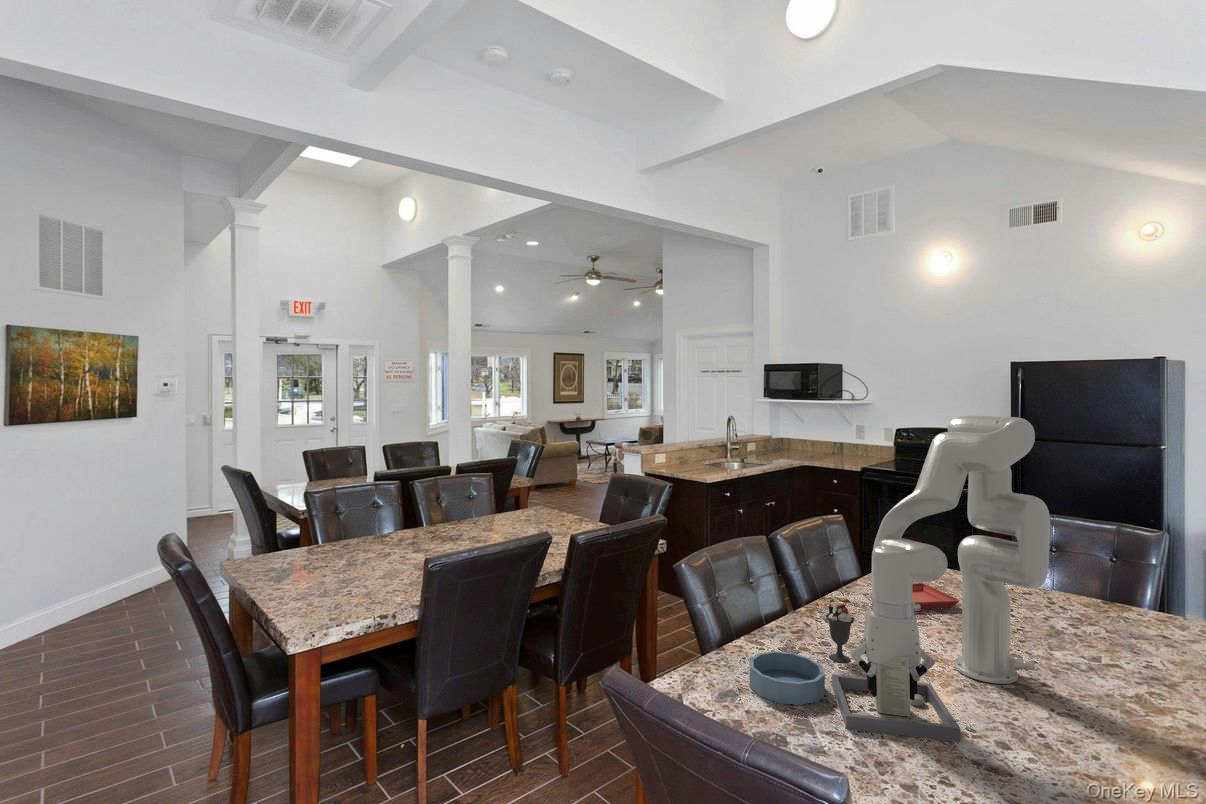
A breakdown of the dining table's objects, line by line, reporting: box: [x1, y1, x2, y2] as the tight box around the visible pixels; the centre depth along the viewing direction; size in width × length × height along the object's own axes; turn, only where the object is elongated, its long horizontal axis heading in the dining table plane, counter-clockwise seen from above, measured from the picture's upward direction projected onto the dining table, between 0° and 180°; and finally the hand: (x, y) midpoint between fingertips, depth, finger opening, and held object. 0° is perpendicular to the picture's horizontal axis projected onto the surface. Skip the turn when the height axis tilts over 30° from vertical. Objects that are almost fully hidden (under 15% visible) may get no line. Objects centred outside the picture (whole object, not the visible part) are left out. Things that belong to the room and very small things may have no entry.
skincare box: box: [874, 657, 911, 718], centre depth 124 cm, size 6×4×12 cm
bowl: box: [749, 650, 826, 706], centre depth 134 cm, size 16×16×4 cm
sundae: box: [825, 598, 856, 664], centre depth 148 cm, size 7×7×15 cm
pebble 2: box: [910, 694, 925, 708], centre depth 127 cm, size 3×3×1 cm
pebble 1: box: [855, 711, 873, 716], centre depth 119 cm, size 3×3×1 cm
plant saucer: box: [912, 582, 961, 610], centre depth 191 cm, size 18×18×3 cm
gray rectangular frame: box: [831, 673, 962, 743], centre depth 124 cm, size 20×18×2 cm
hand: (891, 694), depth 124 cm, fingers closed on skincare box, 6 cm apart
